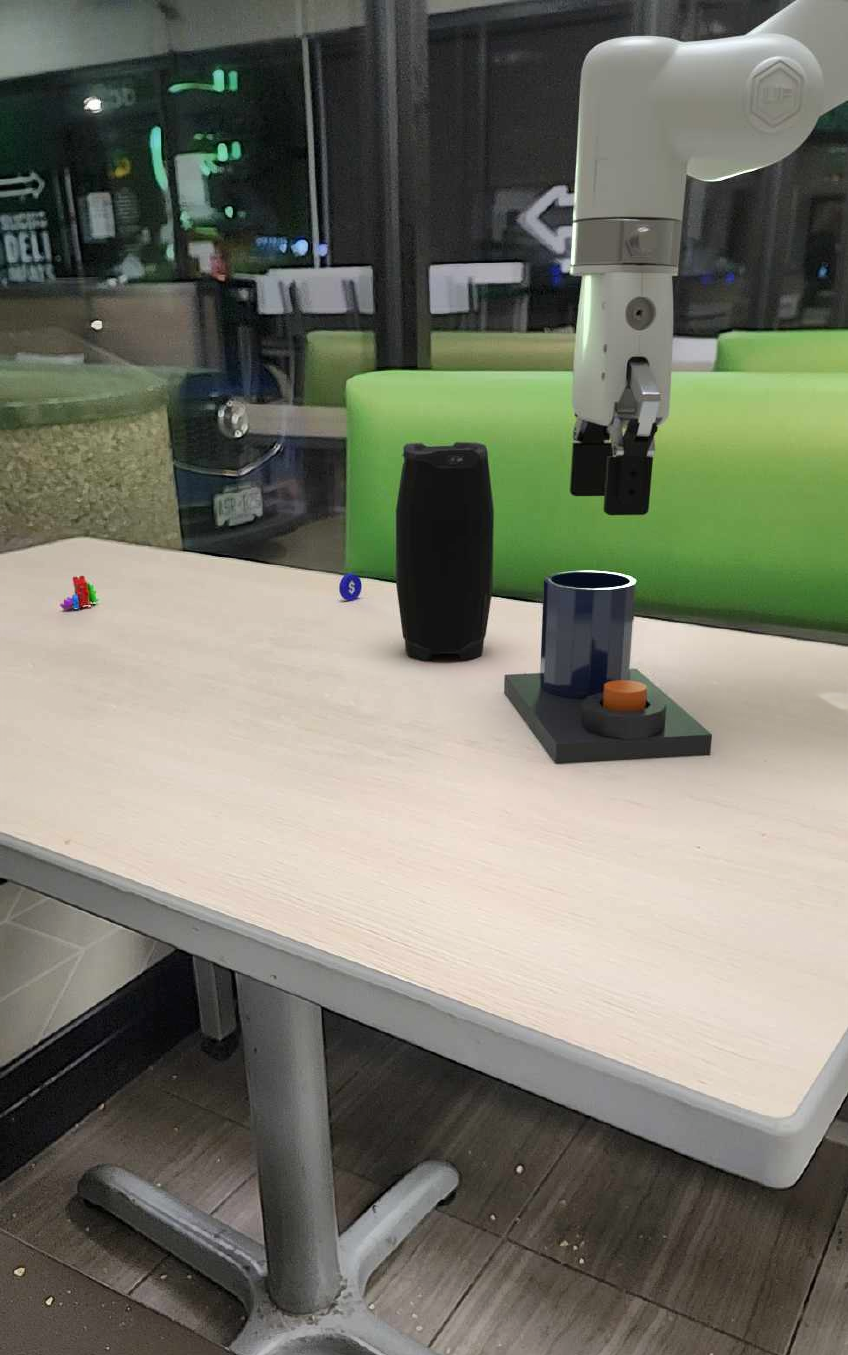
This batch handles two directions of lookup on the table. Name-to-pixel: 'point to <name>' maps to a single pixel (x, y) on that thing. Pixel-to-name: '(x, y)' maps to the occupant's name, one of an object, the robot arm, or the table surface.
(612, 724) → the push button base
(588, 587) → the blue cup
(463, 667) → the table surface
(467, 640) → the portable speaker
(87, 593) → the colorful small pieces
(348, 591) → the coin
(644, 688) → the switch
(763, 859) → the table surface
